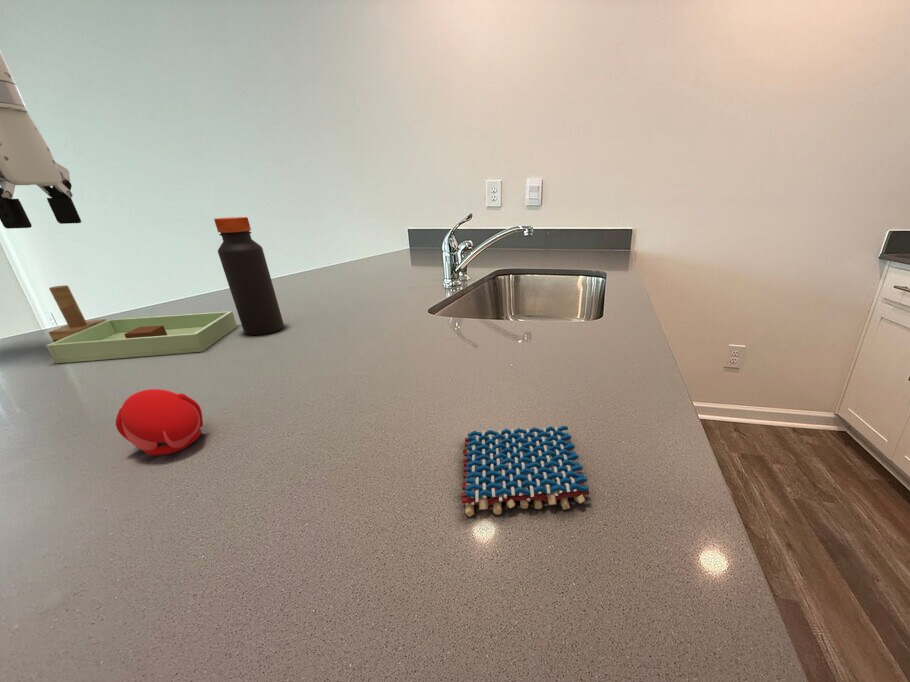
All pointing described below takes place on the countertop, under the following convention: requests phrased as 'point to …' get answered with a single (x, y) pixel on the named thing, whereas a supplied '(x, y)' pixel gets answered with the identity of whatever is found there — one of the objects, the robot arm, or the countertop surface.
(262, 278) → the bottle
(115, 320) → the tray
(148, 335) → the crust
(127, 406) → the cap
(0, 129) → the robot arm
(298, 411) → the countertop surface
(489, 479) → the woven mat
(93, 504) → the countertop surface
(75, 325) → the brush
